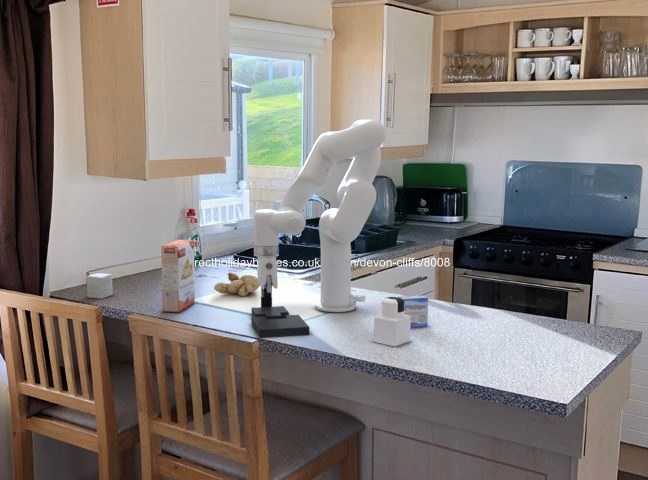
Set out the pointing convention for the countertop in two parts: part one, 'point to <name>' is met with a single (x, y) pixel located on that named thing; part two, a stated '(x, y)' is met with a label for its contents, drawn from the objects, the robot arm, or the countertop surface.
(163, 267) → the cracker box
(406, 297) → the medicine box
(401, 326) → the medicine bottle
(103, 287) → the product box
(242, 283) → the ginger root
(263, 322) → the notch pad
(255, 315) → the pad
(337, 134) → the robot arm
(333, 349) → the countertop surface
